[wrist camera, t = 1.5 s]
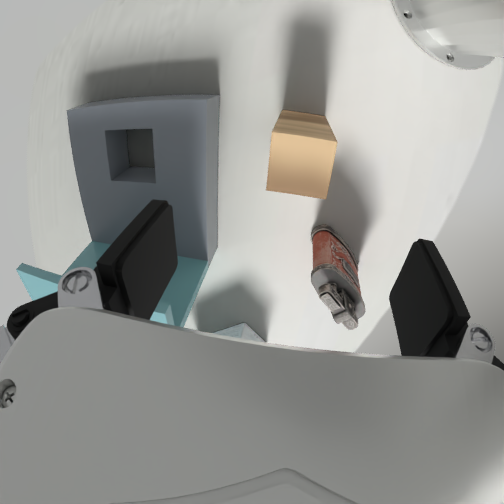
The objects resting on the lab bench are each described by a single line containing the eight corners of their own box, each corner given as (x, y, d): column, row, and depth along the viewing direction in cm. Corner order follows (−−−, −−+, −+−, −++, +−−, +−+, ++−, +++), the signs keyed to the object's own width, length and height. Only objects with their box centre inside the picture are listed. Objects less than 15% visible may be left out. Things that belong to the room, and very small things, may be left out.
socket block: (86, 103, 25) (-24, 153, 13) (225, 95, 24) (137, 134, 11) (106, 230, 36) (38, 311, 24) (221, 247, 35) (176, 359, 22)
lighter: (363, 266, 33) (375, 331, 25) (340, 278, 35) (345, 343, 27) (329, 219, 30) (335, 282, 22) (304, 234, 32) (301, 298, 24)
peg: (282, 109, 24) (271, 131, 16) (325, 116, 24) (337, 142, 16) (278, 148, 26) (266, 190, 18) (319, 155, 26) (326, 199, 18)
